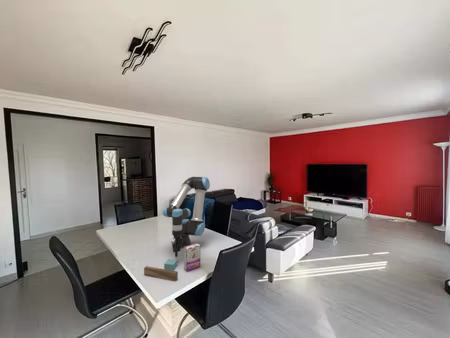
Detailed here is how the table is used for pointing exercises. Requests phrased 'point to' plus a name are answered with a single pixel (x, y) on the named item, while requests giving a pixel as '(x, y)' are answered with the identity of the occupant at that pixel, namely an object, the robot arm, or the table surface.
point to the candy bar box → (191, 257)
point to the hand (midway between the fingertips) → (177, 260)
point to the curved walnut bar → (161, 273)
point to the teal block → (170, 264)
